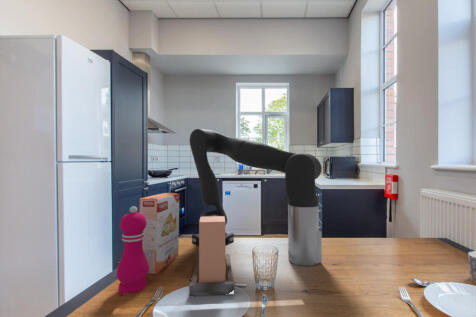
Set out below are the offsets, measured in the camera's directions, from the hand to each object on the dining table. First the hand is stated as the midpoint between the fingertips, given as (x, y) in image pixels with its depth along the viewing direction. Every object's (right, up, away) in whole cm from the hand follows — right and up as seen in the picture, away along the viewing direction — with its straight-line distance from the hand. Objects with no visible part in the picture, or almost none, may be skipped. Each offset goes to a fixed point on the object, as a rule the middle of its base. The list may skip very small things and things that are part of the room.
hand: (212, 248), depth 66 cm
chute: (0, -8, +1) cm, 8 cm away
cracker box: (-16, -9, +9) cm, 21 cm away
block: (0, -7, -5) cm, 9 cm away
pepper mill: (-19, -8, -5) cm, 21 cm away
